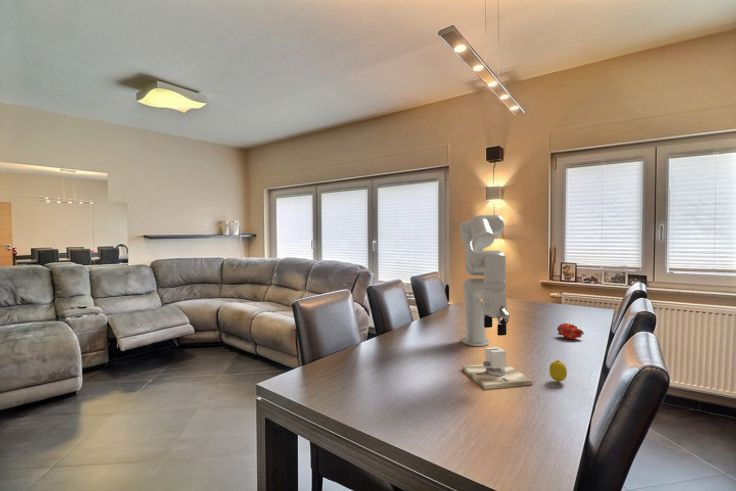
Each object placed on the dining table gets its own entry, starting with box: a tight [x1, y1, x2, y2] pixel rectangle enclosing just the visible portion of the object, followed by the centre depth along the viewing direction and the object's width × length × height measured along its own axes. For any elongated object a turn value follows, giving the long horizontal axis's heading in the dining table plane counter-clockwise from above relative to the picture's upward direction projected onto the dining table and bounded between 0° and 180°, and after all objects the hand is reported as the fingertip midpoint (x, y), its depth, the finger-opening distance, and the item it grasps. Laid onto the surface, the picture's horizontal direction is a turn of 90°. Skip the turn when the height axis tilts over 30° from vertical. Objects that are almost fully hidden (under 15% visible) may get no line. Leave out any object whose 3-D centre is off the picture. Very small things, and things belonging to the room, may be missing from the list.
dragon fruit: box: [556, 322, 585, 341], centre depth 176 cm, size 8×8×12 cm
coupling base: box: [461, 363, 534, 390], centre depth 130 cm, size 18×18×4 cm
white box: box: [482, 346, 507, 369], centre depth 130 cm, size 7×5×6 cm
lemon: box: [548, 359, 568, 384], centre depth 125 cm, size 6×6×8 cm
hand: (494, 331), depth 131 cm, fingers open, 9 cm apart
